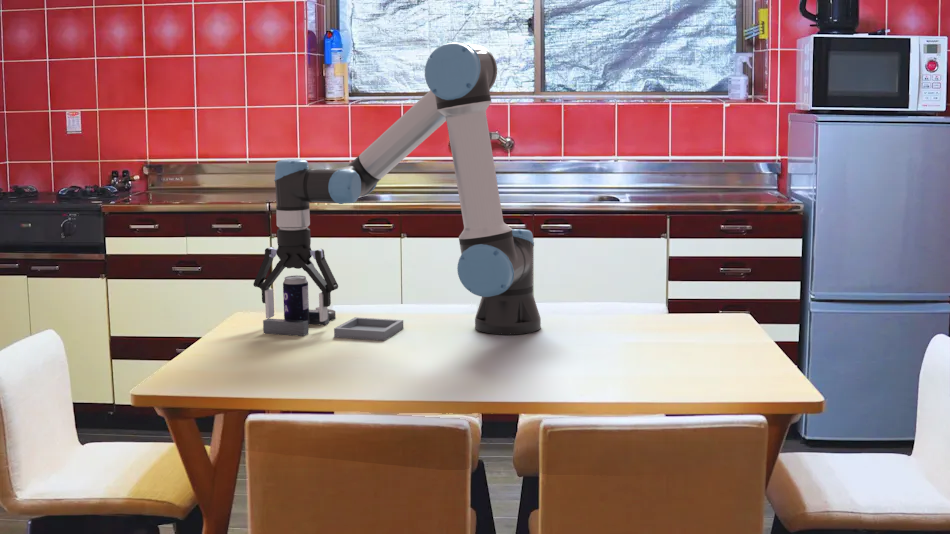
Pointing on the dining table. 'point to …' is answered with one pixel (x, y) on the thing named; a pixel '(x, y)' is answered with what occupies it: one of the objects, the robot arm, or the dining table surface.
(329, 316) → the rails
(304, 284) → the beverage can
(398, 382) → the dining table surface
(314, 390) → the dining table surface
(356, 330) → the tray
